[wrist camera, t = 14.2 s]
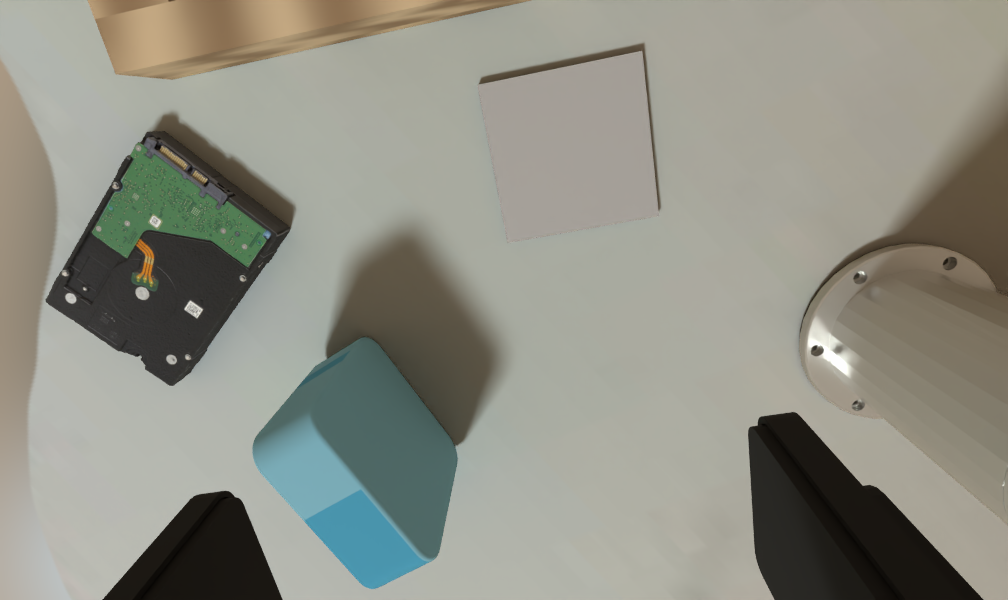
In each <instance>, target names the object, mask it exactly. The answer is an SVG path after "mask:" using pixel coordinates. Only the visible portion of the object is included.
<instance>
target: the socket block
mask: <svg viewBox="0 0 1008 600" xmlns="http://www.w3.org/2000/svg"><path fill="white" fill-rule="evenodd" d="M526 1H530V0H88V2H89V5H90V8H91V10H92V13H93V15H94V18H95V21H96V23H97V26H98V29H99V31H100V34H101V36H102V39H103V42H104V44H105V47H106V49H107V52H108V55H109V57H110V60H111V62H112V65H113V68H114V70H115V73H116V74H119V75H129V76H140V77H150V78H161V79H171V80H173V79H177V78H182V77H186V76H191V75H195V74H200V73H204V72H209V71H213V70H218V69H222V68H227V67H232V66H236V65H241V64H245V63H250V62H254V61H259V60H263V59H268V58H272V57H277V56H281V55H286V54H290V53H295V52H299V51H304V50H308V49H313V48H318V47H322V46H327V45H331V44H336V43H340V42H345V41H349V40H354V39H358V38H363V37H367V36H372V35H376V34H381V33H385V32H390V31H394V30H399V29H404V28H408V27H413V26H417V25H422V24H426V23H431V22H435V21H440V20H444V19H449V18H453V17H458V16H462V15H467V14H471V13H476V12H480V11H485V10H490V9H494V8H499V7H503V6H508V5H512V4H517V3H521V2H526Z"/></svg>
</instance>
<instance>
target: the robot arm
mask: <svg viewBox="0 0 1008 600" xmlns="http://www.w3.org/2000/svg"><path fill="white" fill-rule="evenodd" d="M855 274H856V275H855ZM854 275H855V276H854ZM799 353H800V358H801V363H802V367H803V369H804V371H805V373H806V376H807V378H808V380H809V381H810V382H811V384H812V385H813V386H814V387H815V389H816V390H817V391H818V392H819V393H820V394H821V395H822V396H823V397H824V398H825V399H826V400H827V401H829V402H830V403H832V404H833V405H835V406H836V407H838V408H839V409H841V410H843V411H846V412H848V413H850V414H853V415H856V416H862V417H867V418H872V419H885V420H886V421H887V422H888V423H889V424H890V425H892V426H893V427H894V428H895V429H896V430H897V431H899V432H900V433H901V434H902V435H903V436H904V437H905V438H907V439H908V440H909V441H910V442H911V443H912V444H914V445H915V446H916V447H917V448H918V449H919V450H921V451H922V452H923V453H924V454H925V455H926V456H928V457H929V458H930V459H931V460H932V461H933V462H935V463H936V464H937V465H938V466H939V467H940V468H942V469H943V470H944V471H945V472H946V473H947V474H949V475H950V476H951V477H952V478H953V479H954V480H956V481H957V482H958V483H959V484H960V485H961V486H963V487H964V488H965V489H966V490H967V491H968V492H970V493H971V494H972V495H973V496H974V497H975V498H977V499H978V500H979V501H980V502H981V503H982V504H984V505H985V506H986V507H987V508H988V509H989V510H990V511H992V512H993V513H994V514H995V515H996V516H997V517H999V518H1000V519H1001V520H1002V521H1003V522H1004V523H1006V524H1007V525H1008V296H1005V295H1002V294H1000V293H997V290H996V287H995V285H994V284H993V282H992V280H991V279H990V277H989V276H988V274H987V273H986V272H985V271H984V270H983V269H982V268H981V267H980V266H979V265H978V264H977V263H976V262H974V261H973V260H971V259H969V258H967V257H966V256H964V255H962V254H961V253H958V252H955V251H952V250H949V249H946V248H943V247H939V246H934V245H929V244H901V245H895V246H889V247H885V248H882V249H879V250H876V251H873V252H870V253H868V254H866V255H864V256H862V257H860V258H858V259H856V260H854V261H852V262H851V263H849V264H848V265H847V266H845V267H844V268H842V269H841V270H840V271H838V272H837V273H836V274H835V275H834V276H833V277H832V278H831V279H830V280H829V281H828V282H827V283H826V284H825V285H824V286H823V287H822V288H821V289H820V291H819V292H818V294H817V295H816V297H815V298H814V299H813V301H812V302H811V304H810V306H809V308H808V311H807V313H806V315H805V317H804V319H803V324H802V328H801V332H800V341H799ZM748 439H749V457H750V474H751V492H752V509H753V527H754V545H755V554H756V559H757V563H758V566H759V569H760V571H761V574H762V576H763V578H764V580H765V582H766V584H767V586H768V588H769V590H770V591H771V593H772V595H773V597H774V599H775V600H983V599H982V598H981V597H980V595H979V594H978V593H977V592H976V591H975V590H974V589H973V588H972V587H971V586H970V585H969V584H968V583H967V582H966V581H965V579H964V578H963V577H962V576H961V575H960V574H959V573H958V572H957V571H956V570H955V569H954V568H953V567H952V566H951V565H950V563H949V562H948V561H947V560H946V559H945V558H944V557H943V556H942V555H941V554H940V553H939V552H938V551H937V550H936V548H935V547H934V546H933V545H932V544H931V543H930V542H929V541H928V540H927V539H926V538H925V537H924V536H923V535H922V534H921V532H920V531H919V530H918V529H917V528H916V527H915V526H914V525H913V524H912V523H911V522H910V521H909V520H908V519H907V518H906V516H905V515H904V514H903V513H902V512H901V511H900V510H899V509H898V508H897V507H896V506H895V505H894V504H893V503H892V501H891V500H890V499H889V498H888V497H887V496H886V495H885V494H884V493H883V492H881V491H880V490H879V489H878V488H877V487H874V486H871V485H866V486H862V485H861V484H860V482H859V481H858V480H857V479H856V478H855V477H854V476H853V475H852V473H851V472H850V471H849V470H848V469H847V468H846V467H845V466H844V465H843V463H842V462H841V461H840V460H839V459H838V458H837V457H836V456H835V455H834V453H833V452H832V451H831V450H830V449H829V448H828V447H827V446H826V445H825V443H824V442H823V441H822V440H821V439H820V438H819V437H818V436H817V434H816V433H815V432H814V431H813V430H812V429H811V428H810V427H809V426H808V424H807V423H806V422H805V421H804V420H803V419H802V418H801V417H800V416H799V415H798V414H797V413H795V412H791V413H784V414H777V415H769V416H762V417H760V418H759V420H758V426H753V427H750V428H749V431H748ZM103 600H282V597H281V595H280V592H279V590H278V587H277V585H276V583H275V580H274V578H273V575H272V573H271V570H270V568H269V565H268V563H267V560H266V558H265V556H264V553H263V551H262V548H261V546H260V543H259V541H258V538H257V536H256V534H255V531H254V529H253V526H252V524H251V521H250V519H249V516H248V514H247V512H246V509H245V507H244V504H243V502H242V501H241V500H240V499H239V498H236V497H234V495H233V494H232V493H231V492H229V491H220V492H213V493H206V494H199V495H196V496H194V497H193V498H192V499H190V500H189V502H188V503H187V504H186V505H185V506H184V507H183V508H182V510H181V511H180V512H179V513H178V514H177V515H176V516H175V517H174V519H173V520H172V521H171V522H170V523H169V524H168V525H167V527H166V528H165V529H164V530H163V531H162V532H161V533H160V535H159V536H158V537H157V538H156V539H155V540H154V541H153V543H152V544H151V545H150V546H149V547H148V548H147V549H146V551H145V552H144V553H143V554H142V555H141V556H140V557H139V559H138V560H137V561H136V562H135V563H134V564H133V565H132V567H131V568H130V569H129V570H128V571H127V572H126V573H125V575H124V576H123V577H122V578H121V579H120V580H119V581H118V583H117V584H116V585H115V586H114V587H113V588H112V589H111V591H110V592H109V593H108V594H107V595H106V596H105V597H104V599H103Z"/></svg>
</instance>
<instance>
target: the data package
mask: <svg viewBox="0 0 1008 600" xmlns="http://www.w3.org/2000/svg"><path fill="white" fill-rule="evenodd" d="M253 458H254V461H255V464H256V466H257V468H258V470H259V471H260V473H261V474H262V475H263V476H264V477H265V478H266V480H267V481H268V482H269V483H270V484H271V485H272V486H273V487H274V488H275V489H276V491H277V492H278V493H279V494H280V495H281V496H282V497H283V498H284V499H285V501H286V502H287V503H288V504H289V505H290V506H291V507H292V508H293V509H294V510H295V512H296V513H297V514H298V515H299V516H300V517H301V518H302V519H303V520H304V522H305V523H306V524H307V525H308V526H309V527H310V528H311V529H312V530H313V531H314V533H315V534H316V535H317V536H318V537H319V538H320V539H321V540H322V541H323V543H324V544H325V545H326V546H327V547H328V548H329V549H330V550H331V551H332V552H333V554H334V555H335V556H336V557H337V558H338V559H339V560H340V561H341V562H342V564H343V565H344V566H345V567H346V568H347V569H348V570H349V571H350V572H351V574H352V575H353V576H354V577H355V578H356V579H357V580H358V581H359V582H360V583H361V584H362V585H363V586H365V587H367V588H370V589H375V588H378V587H380V586H382V585H385V584H387V583H389V582H391V581H393V580H395V579H397V578H399V577H401V576H403V575H405V574H407V573H409V572H411V571H413V570H415V569H417V568H419V567H421V566H423V565H425V564H427V563H429V562H431V561H433V560H434V559H435V558H436V557H437V555H438V553H439V550H440V546H441V541H442V536H443V531H444V526H445V521H446V516H447V511H448V506H449V501H450V496H451V491H452V486H453V481H454V477H455V472H456V467H457V461H458V458H457V452H456V449H455V446H454V444H453V442H452V440H451V438H450V437H449V436H448V434H447V433H446V432H445V430H444V429H443V428H442V426H441V425H440V424H439V422H438V421H437V420H436V419H435V417H434V416H433V415H432V413H431V412H430V411H429V409H428V408H427V407H426V406H425V404H424V403H423V402H422V400H421V399H420V398H419V396H418V395H417V394H416V393H415V391H414V390H413V389H412V387H411V386H410V385H409V383H408V382H407V381H406V380H405V378H404V377H403V376H402V374H401V373H400V372H399V370H398V369H397V368H396V367H395V365H394V364H393V363H392V361H391V360H390V359H389V357H388V356H387V355H386V353H385V352H384V351H383V350H382V348H381V347H380V346H379V345H378V344H377V343H376V342H375V341H374V340H372V339H370V338H367V337H362V338H360V339H358V340H357V341H355V342H353V343H352V344H350V345H349V346H347V347H345V348H344V349H342V350H341V351H339V352H337V353H336V354H334V355H333V356H331V357H329V358H328V359H326V360H325V361H323V362H321V363H320V364H318V365H317V366H315V367H314V368H313V370H312V371H311V372H310V373H309V374H308V376H307V377H306V378H305V379H304V380H303V381H302V383H301V384H300V385H299V386H298V387H297V389H296V390H295V391H294V392H293V393H292V394H291V396H290V397H289V398H288V399H287V400H286V402H285V403H284V404H283V405H282V406H281V408H280V409H279V410H278V411H277V412H276V413H275V415H274V416H273V417H272V418H271V419H270V421H269V422H268V423H267V424H266V425H265V427H264V428H263V429H262V430H261V431H260V432H259V434H258V435H257V436H256V438H255V440H254V443H253Z"/></svg>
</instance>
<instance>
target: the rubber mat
mask: <svg viewBox="0 0 1008 600" xmlns="http://www.w3.org/2000/svg"><path fill="white" fill-rule="evenodd" d="M478 90H479V96H480V101H481V106H482V111H483V117H484V122H485V127H486V132H487V137H488V143H489V148H490V153H491V158H492V164H493V169H494V174H495V179H496V184H497V190H498V195H499V200H500V205H501V211H502V216H503V221H504V226H505V231H506V237H507V242H508V243H510V242H516V241H521V240H527V239H533V238H538V237H544V236H549V235H555V234H561V233H566V232H572V231H578V230H583V229H589V228H595V227H600V226H606V225H612V224H617V223H623V222H629V221H634V220H640V219H645V218H651V217H657V216H659V211H658V201H657V191H656V181H655V171H654V161H653V152H652V142H651V132H650V122H649V112H648V102H647V92H646V82H645V72H644V63H643V53H642V51H639V52H634V53H629V54H624V55H619V56H614V57H610V58H605V59H600V60H595V61H590V62H586V63H581V64H576V65H571V66H566V67H561V68H557V69H552V70H547V71H542V72H537V73H532V74H528V75H523V76H518V77H513V78H508V79H504V80H499V81H494V82H489V83H484V84H479V85H478Z"/></svg>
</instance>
